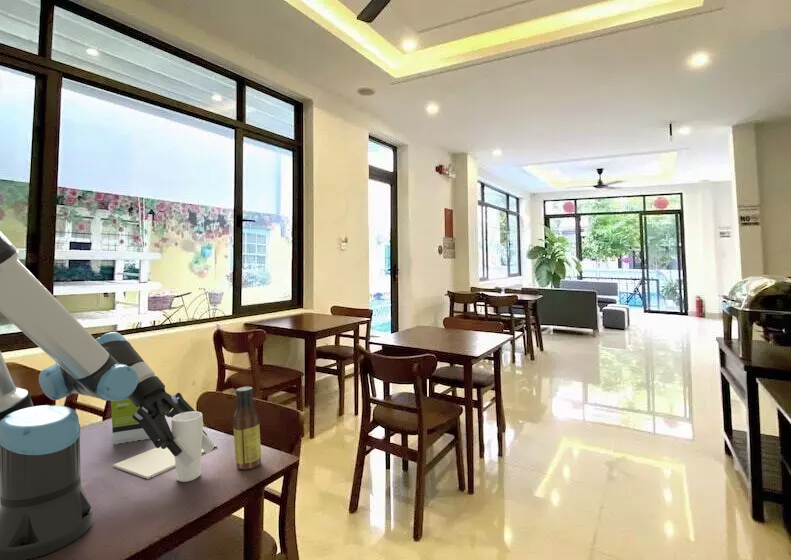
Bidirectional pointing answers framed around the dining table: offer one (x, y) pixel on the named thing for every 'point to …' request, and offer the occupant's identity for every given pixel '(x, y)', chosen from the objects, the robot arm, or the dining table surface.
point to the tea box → (125, 422)
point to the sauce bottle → (246, 431)
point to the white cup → (188, 443)
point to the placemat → (149, 463)
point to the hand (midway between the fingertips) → (201, 456)
